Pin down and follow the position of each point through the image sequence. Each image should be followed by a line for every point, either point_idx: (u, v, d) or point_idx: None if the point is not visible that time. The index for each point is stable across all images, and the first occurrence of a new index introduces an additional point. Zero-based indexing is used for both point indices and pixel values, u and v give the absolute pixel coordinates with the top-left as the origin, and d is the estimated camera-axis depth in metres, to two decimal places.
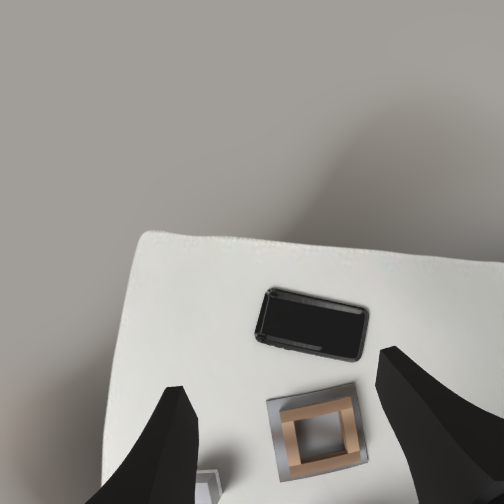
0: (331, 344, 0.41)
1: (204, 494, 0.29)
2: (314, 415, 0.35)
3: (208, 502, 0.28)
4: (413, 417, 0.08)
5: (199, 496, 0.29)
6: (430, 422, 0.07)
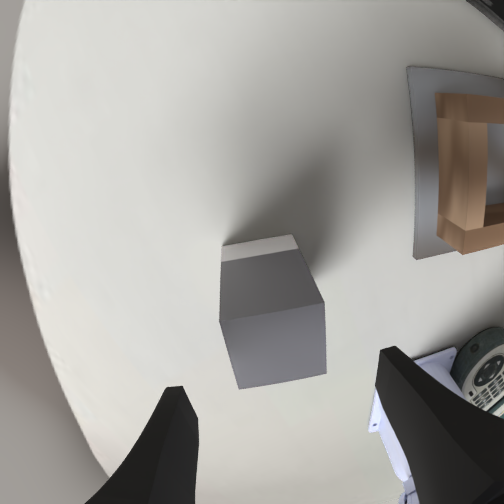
0: (503, 6, 0.11)
1: (310, 337, 0.13)
2: None
3: (318, 356, 0.13)
4: (412, 417, 0.08)
5: (295, 345, 0.13)
6: (430, 422, 0.07)
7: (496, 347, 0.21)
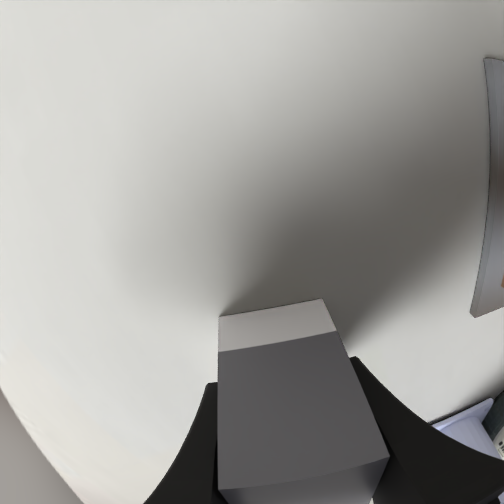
0: None
1: (357, 487, 0.06)
2: None
3: (362, 497, 0.07)
4: None
5: (333, 496, 0.07)
6: None
7: None
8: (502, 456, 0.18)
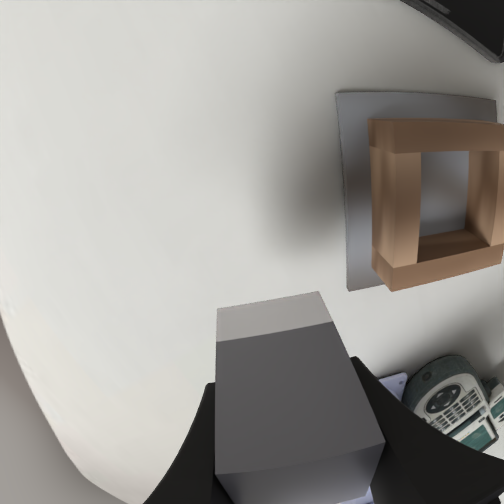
0: (464, 13, 0.12)
1: (354, 475, 0.07)
2: (460, 148, 0.13)
3: (359, 486, 0.07)
4: None
5: (330, 484, 0.07)
6: None
7: (450, 377, 0.22)
8: None
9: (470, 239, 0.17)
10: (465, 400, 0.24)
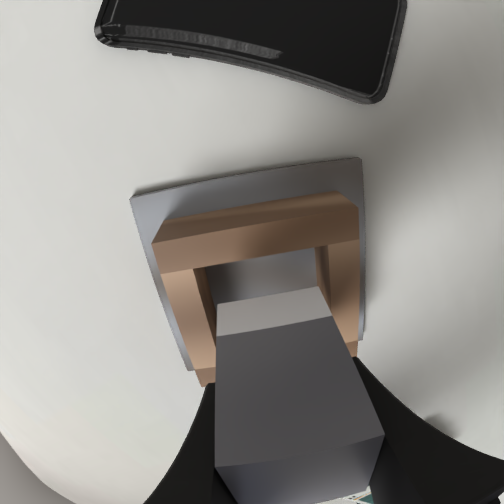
0: (308, 47, 0.13)
1: (354, 469, 0.07)
2: (251, 255, 0.14)
3: (359, 481, 0.07)
4: None
5: (330, 478, 0.07)
6: None
7: None
8: None
9: None
10: None
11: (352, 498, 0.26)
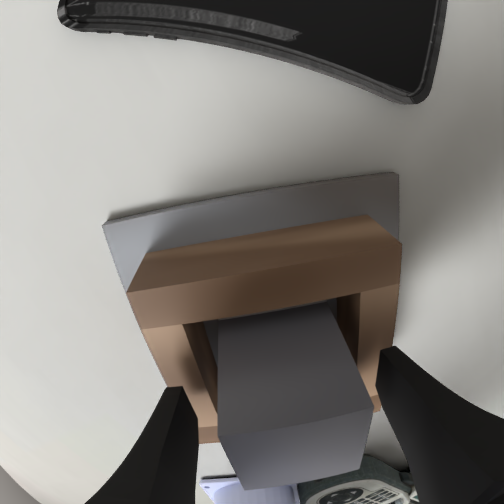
0: (334, 27, 0.09)
1: (346, 443, 0.08)
2: (260, 308, 0.10)
3: (352, 457, 0.08)
4: (413, 417, 0.08)
5: (324, 452, 0.08)
6: (430, 422, 0.07)
7: (344, 483, 0.19)
8: None
9: None
10: (373, 496, 0.21)
11: None
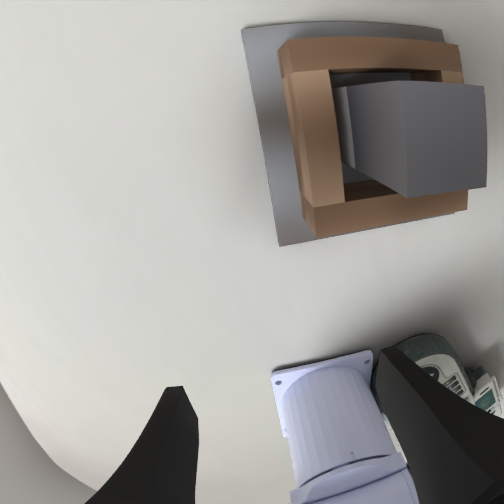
0: None
1: (475, 127, 0.09)
2: (382, 64, 0.11)
3: (481, 157, 0.09)
4: (412, 417, 0.08)
5: (464, 134, 0.09)
6: (430, 422, 0.07)
7: (425, 357, 0.21)
8: None
9: None
10: None
11: None
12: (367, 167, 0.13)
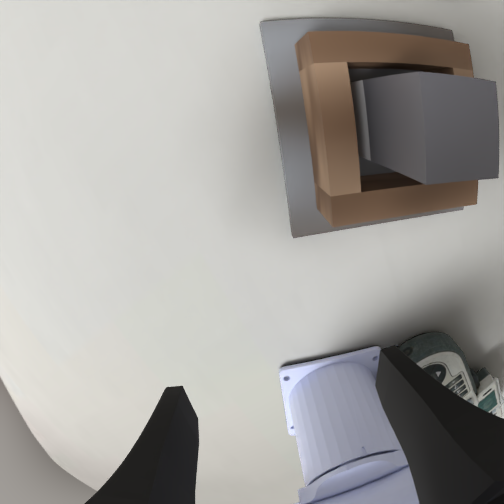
0: None
1: (488, 119, 0.09)
2: (398, 59, 0.11)
3: (493, 148, 0.09)
4: (413, 417, 0.08)
5: (478, 125, 0.09)
6: (430, 422, 0.07)
7: (434, 354, 0.20)
8: None
9: None
10: (451, 387, 0.22)
11: None
12: (383, 158, 0.13)
